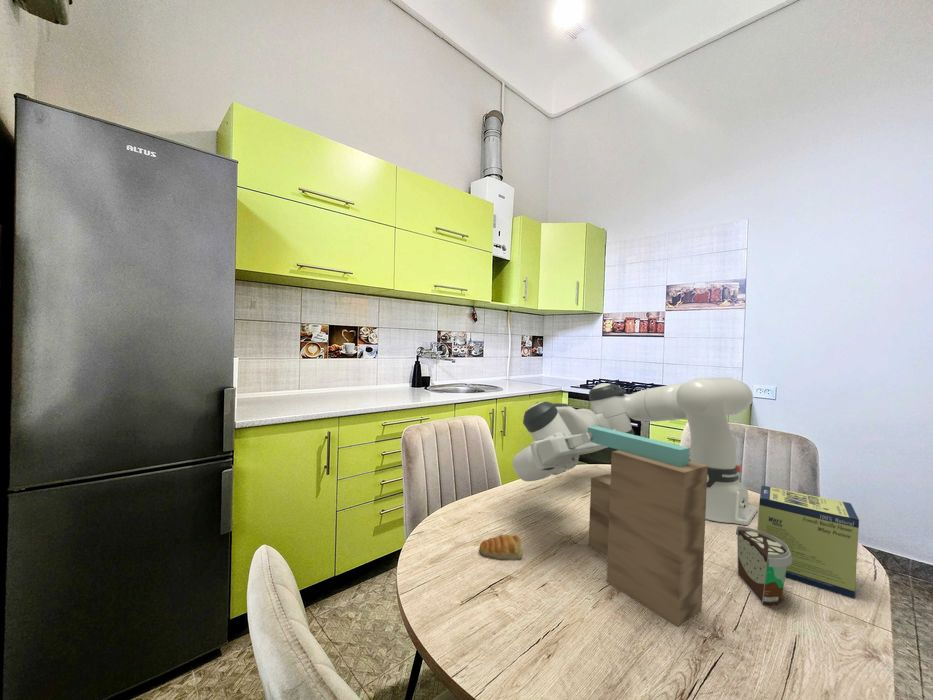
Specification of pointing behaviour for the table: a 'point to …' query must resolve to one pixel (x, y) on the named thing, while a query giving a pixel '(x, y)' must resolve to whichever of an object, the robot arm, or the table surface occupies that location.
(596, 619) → the table surface
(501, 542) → the pastry
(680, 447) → the teal block
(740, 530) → the food container
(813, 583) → the protein box
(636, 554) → the walnut stand
